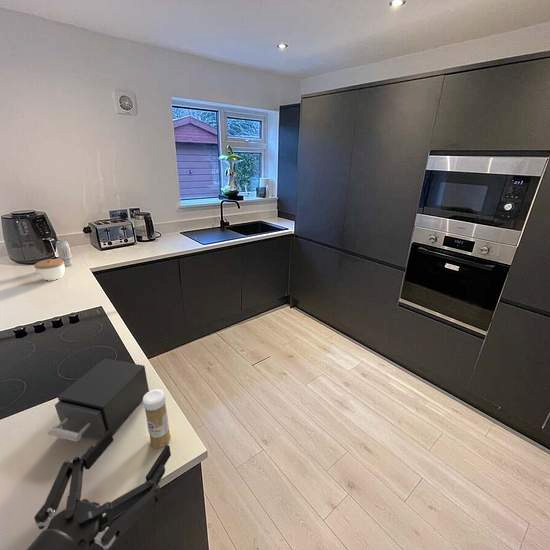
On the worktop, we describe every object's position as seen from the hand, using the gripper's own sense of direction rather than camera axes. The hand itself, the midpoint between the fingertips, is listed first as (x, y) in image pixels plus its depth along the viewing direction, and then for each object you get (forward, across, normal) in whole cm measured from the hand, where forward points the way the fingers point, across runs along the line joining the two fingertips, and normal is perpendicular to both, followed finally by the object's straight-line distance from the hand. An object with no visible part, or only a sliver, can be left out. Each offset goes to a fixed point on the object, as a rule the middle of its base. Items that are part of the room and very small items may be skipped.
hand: (139, 442), depth 59 cm
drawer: (+7, -18, -6) cm, 20 cm away
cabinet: (+11, -18, -7) cm, 23 cm away
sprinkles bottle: (+6, 0, -7) cm, 10 cm away
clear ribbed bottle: (+97, -123, -7) cm, 157 cm away
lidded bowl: (+78, -112, -7) cm, 137 cm away
